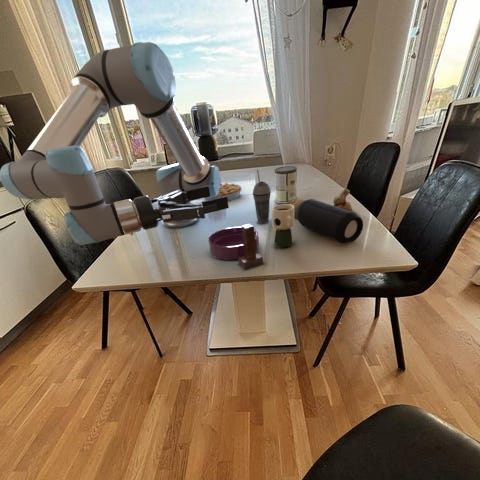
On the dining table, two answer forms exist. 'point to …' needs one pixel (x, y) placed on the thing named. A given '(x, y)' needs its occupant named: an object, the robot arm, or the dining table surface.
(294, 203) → the bread roll
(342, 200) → the chocolate bunny
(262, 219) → the beverage cup
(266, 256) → the dining table surface
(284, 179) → the coffee can
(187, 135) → the robot arm
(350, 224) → the portable speaker
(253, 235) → the wooden stamp
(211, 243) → the bowl
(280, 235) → the character mug
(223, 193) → the pie
